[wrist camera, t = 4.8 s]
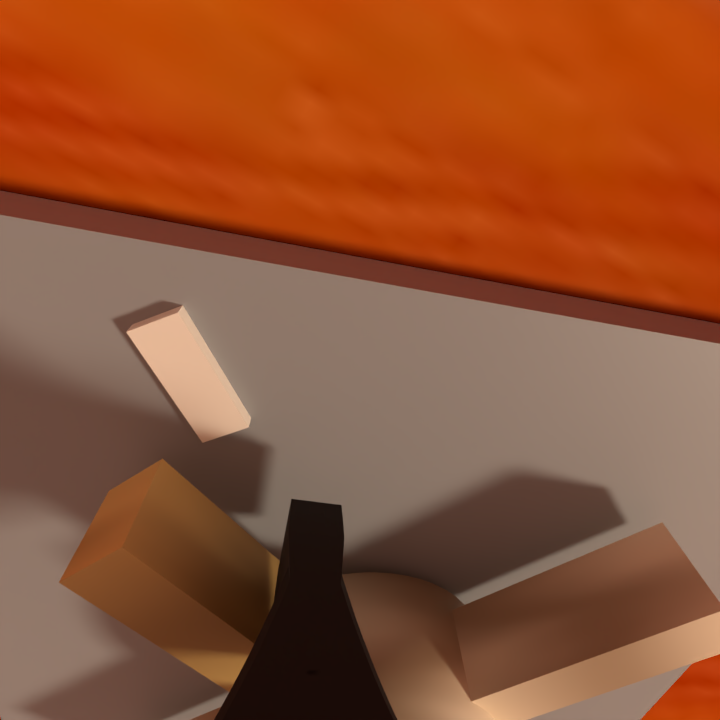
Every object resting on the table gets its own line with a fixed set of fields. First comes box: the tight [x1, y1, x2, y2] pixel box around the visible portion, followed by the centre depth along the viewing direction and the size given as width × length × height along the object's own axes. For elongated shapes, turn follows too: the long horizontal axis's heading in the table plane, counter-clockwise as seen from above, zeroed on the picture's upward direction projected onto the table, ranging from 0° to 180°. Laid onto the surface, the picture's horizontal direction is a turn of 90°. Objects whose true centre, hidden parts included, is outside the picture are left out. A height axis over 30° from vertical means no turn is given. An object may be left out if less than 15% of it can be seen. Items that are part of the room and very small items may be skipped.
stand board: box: [0, 191, 720, 720], centre depth 14 cm, size 20×20×2 cm
